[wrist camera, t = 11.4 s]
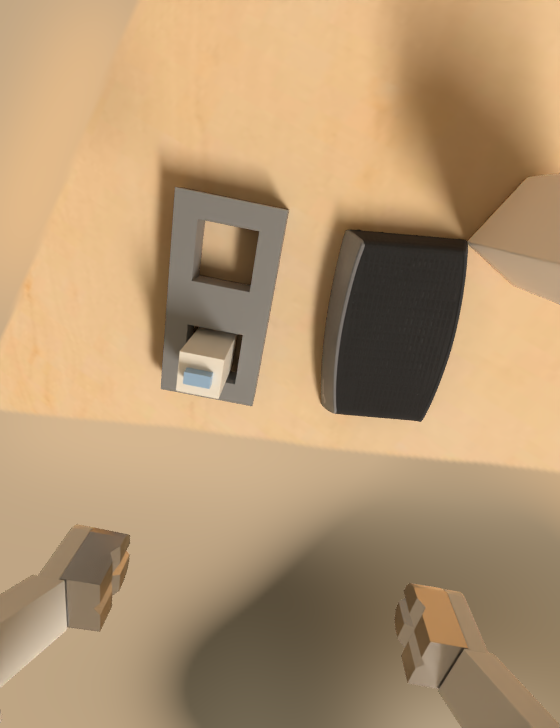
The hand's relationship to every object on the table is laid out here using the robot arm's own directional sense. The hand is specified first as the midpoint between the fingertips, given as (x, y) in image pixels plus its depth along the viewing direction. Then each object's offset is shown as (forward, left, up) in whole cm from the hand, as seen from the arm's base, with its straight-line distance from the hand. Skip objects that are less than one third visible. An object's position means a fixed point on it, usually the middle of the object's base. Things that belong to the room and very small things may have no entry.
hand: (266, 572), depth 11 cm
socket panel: (+1, -7, -31) cm, 32 cm away
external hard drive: (+1, +11, -32) cm, 34 cm away
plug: (+6, -7, -31) cm, 32 cm away
